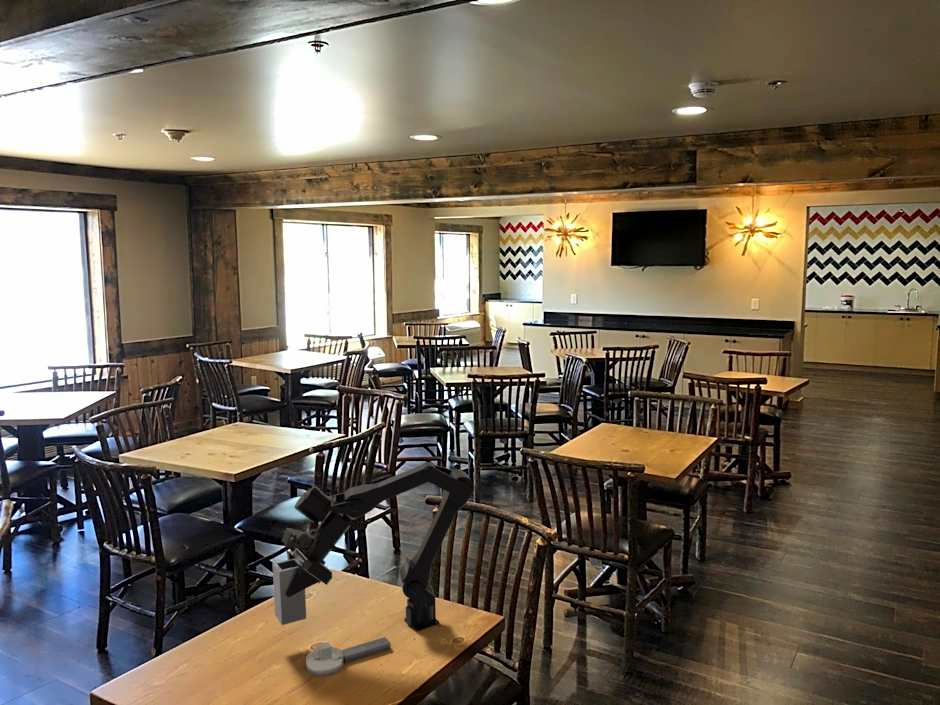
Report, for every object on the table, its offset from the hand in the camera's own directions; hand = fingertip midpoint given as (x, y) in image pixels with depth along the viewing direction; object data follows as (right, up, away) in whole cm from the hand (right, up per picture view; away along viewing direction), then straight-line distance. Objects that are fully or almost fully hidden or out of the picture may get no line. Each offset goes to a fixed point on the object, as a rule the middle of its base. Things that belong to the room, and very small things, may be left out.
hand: (283, 590), depth 161 cm
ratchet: (+16, -14, -4) cm, 21 cm away
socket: (+1, -6, +1) cm, 7 cm away
